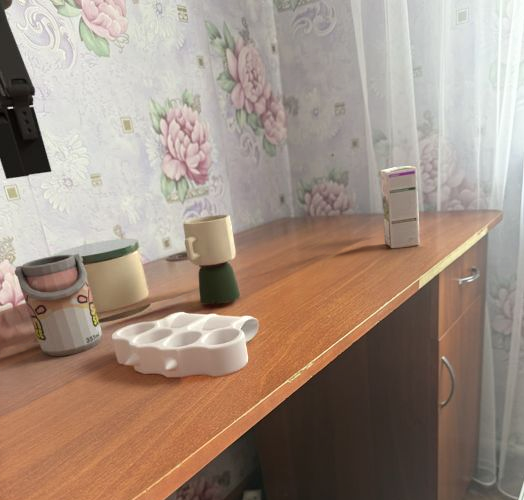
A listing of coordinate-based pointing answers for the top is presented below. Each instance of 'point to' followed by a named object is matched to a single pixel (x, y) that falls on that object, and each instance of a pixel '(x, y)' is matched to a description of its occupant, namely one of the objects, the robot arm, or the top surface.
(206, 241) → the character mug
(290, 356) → the top surface
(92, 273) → the jar
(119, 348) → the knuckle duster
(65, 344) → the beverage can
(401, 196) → the syrup box
